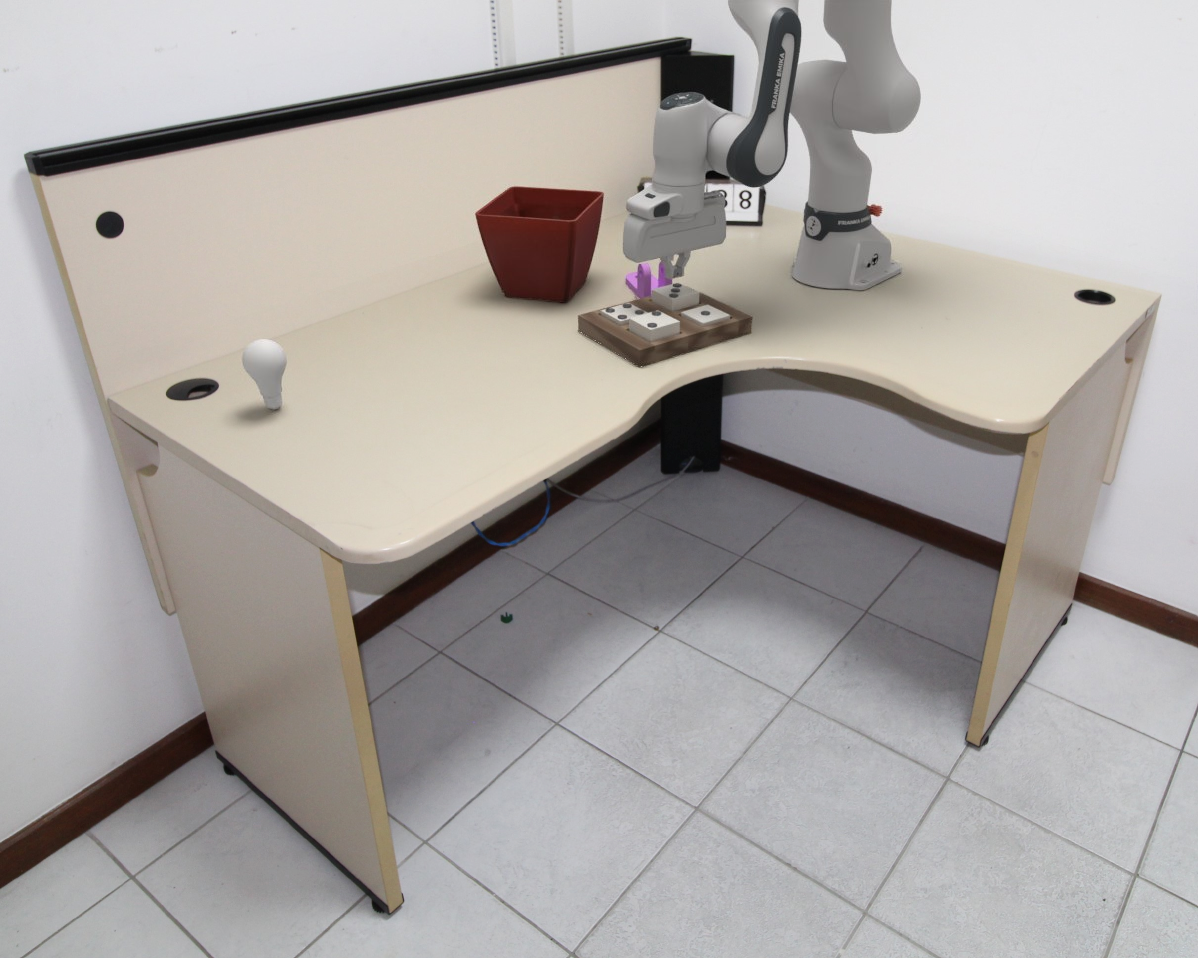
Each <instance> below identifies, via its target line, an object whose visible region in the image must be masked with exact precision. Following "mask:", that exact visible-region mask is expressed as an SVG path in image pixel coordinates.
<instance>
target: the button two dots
mask: <svg viewBox="0 0 1198 958" xmlns="http://www.w3.org/2000/svg"><path fill="white" fill-rule="evenodd" d="M629 331H630V332H632V333H633V334H635V335H637V336H639V337H641V338H642V339H644V340H646V341H648V342H650V343H651V342H654V341H657V340H661V339H664V338H668V337H671V336H674V335H678V334H680V321H678V320H676V319H674V318H672V317H670V316H668V315H666V314H664V313H662V312H660V311H658V310H657V311H653V312H650V313H646V314H643V315H639V316H635V317H632V318H629Z"/></svg>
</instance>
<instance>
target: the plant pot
mask: <svg viewBox="0 0 1198 958" xmlns="http://www.w3.org/2000/svg"><path fill="white" fill-rule="evenodd" d="M604 194H605V192H603V191H600V190H599V191H597V190H584V189H583V190H582V189H567V188H566V189H565V188H553V187H552V188H548V187H537V186H536V187H535V186H533V187H532V186H516V185H514V186H510V187H508V188H507V189H505V190H504V191H503V192H501V193H500V194H498V195H497V196H496V197H494V198H493V199H492V200H491V201H489V202H488V203H487V204H485V205H484V206H482V207H481V208H480V209H478V210H477V211H475V213H474V215H475V219H476V223H477V228H478V232H479V235H480V239H481V242H482V245H483V248H484V250H485V254H486V256H487V260H488V261H489V265H490V266H491V269H492V271H493V274H494V276H495V278H496V281H497V283H498V285H499V288H500V289H501V292H502V294H503V295H504V297H506V298H510V299H522V300H523V299H524V300H536V301H546V302H556V303H557V302H558V303H566V302H568V301H569V300H571V298H572V297H573V296H574V295H575V294H576V293H577V292H578V290H579V289H580V288H582V286H583V285H584V284H585V282H587V279H588V275H589V272H590V269H591V266H592V261H593V258H594V254H595V252H596V251H595V250H596V246H597V243H598V237H599V231H600V227H601V222H602V221H601V220H602V213H603V212H602V211H603V205H604V197H605V195H604Z"/></svg>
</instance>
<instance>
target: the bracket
mask: <svg viewBox="0 0 1198 958" xmlns="http://www.w3.org/2000/svg"><path fill="white" fill-rule="evenodd" d="M657 274H658V278H657V277H656V276H655V275H654V274H653V273H652V270H651V266H650V263H647V262H644V263H643V262H642V263H638V265H637V271H634V272H629V273H627V274H626V275H625V285H626V286H627V287H628V288H629V289H630V290H631V291H632V292H633V293H634V294H635V295H636V296H637V297H639V298H640V299H641V298H644V297H648V296H652V289H656V288H659V287H663V286H667V285H671V284H673V279H668V278H666V277H665V267H664V265H663V264H662V262H661V261H659V263H658V273H657ZM639 298H638V299H639Z"/></svg>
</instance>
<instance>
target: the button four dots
mask: <svg viewBox="0 0 1198 958" xmlns="http://www.w3.org/2000/svg"><path fill="white" fill-rule="evenodd" d="M646 313H647V312H645V311H644V310H642V309H640V308H638V307H636V306H634V305H632V304H630V303H627V304H623V305H619V306H615V307H612V308H608V309H604V310H601V316H603V317H604V318H606V319H608V320H610V321H612V322H613V323H615V324H617V325H619V326H623V325H626V324H629V318H632V317H635V316H639V315H643V314H646Z"/></svg>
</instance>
